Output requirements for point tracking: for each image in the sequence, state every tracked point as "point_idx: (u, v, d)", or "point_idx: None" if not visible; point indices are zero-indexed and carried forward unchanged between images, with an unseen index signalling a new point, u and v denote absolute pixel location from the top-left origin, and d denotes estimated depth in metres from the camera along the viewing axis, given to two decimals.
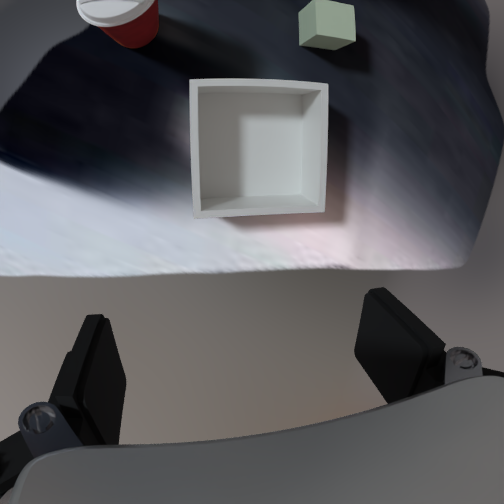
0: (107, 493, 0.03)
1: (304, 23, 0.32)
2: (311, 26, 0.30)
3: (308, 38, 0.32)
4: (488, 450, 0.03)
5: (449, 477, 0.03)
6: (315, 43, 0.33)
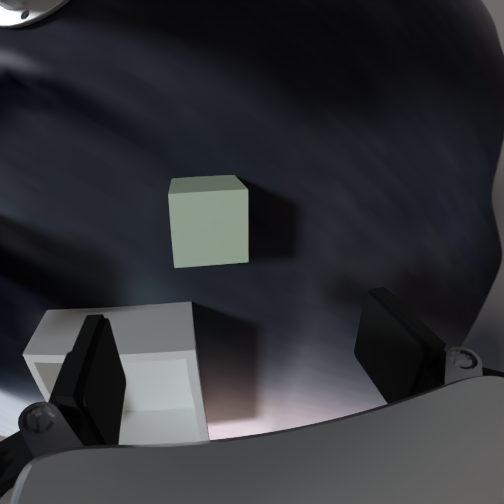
0: (107, 493, 0.03)
1: None
2: None
3: None
4: (488, 450, 0.03)
5: (449, 477, 0.03)
6: None
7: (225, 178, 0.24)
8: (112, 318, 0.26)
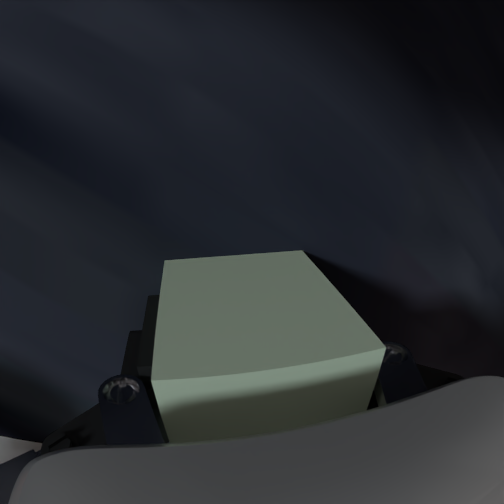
0: (107, 493, 0.03)
1: None
2: None
3: None
4: (488, 450, 0.03)
5: (449, 477, 0.03)
6: None
7: (291, 269, 0.10)
8: None
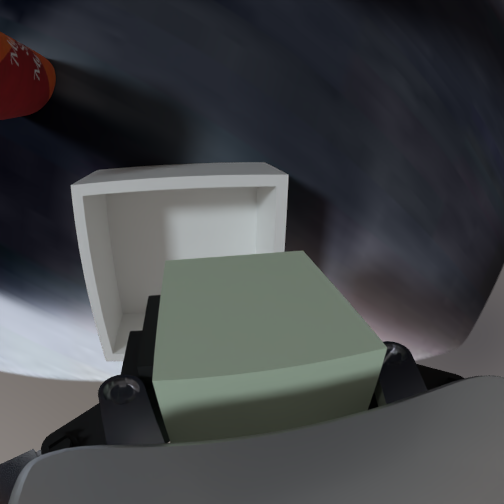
0: (107, 493, 0.03)
1: None
2: None
3: None
4: (488, 450, 0.03)
5: (449, 477, 0.03)
6: None
7: (292, 269, 0.10)
8: (180, 166, 0.25)
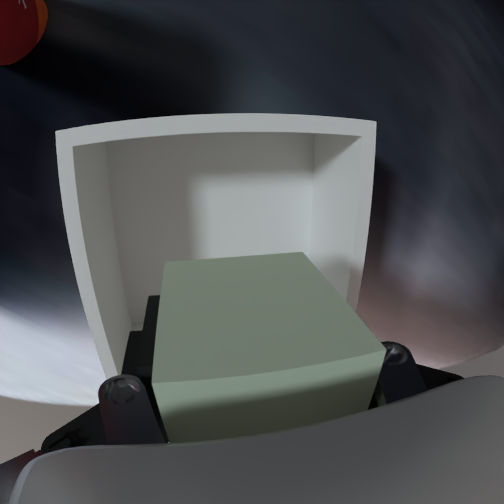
0: (107, 493, 0.03)
1: None
2: None
3: None
4: (488, 450, 0.03)
5: (449, 477, 0.03)
6: None
7: (291, 271, 0.10)
8: None
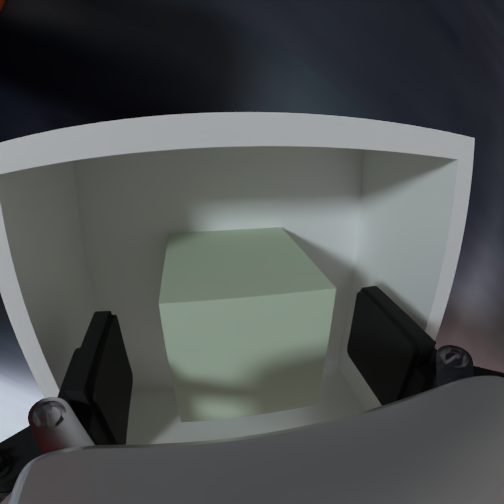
0: (107, 493, 0.03)
1: None
2: None
3: None
4: (488, 450, 0.03)
5: (449, 477, 0.03)
6: None
7: (270, 239, 0.13)
8: None
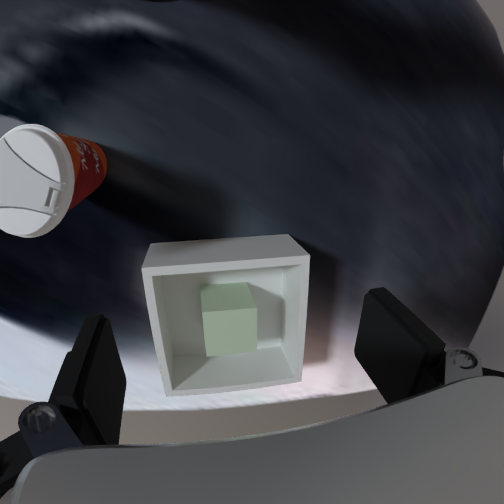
0: (107, 493, 0.03)
1: None
2: None
3: None
4: (488, 450, 0.03)
5: (449, 477, 0.03)
6: None
7: (240, 288, 0.34)
8: (222, 243, 0.32)
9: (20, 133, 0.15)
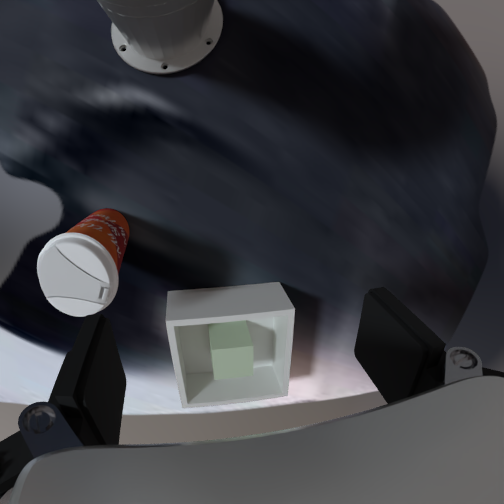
0: (107, 493, 0.03)
1: (210, 345, 0.41)
2: (212, 364, 0.40)
3: (212, 365, 0.41)
4: (488, 450, 0.03)
5: (449, 477, 0.03)
6: None
7: (240, 326, 0.42)
8: (226, 293, 0.40)
9: (70, 245, 0.23)
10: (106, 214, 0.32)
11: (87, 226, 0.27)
